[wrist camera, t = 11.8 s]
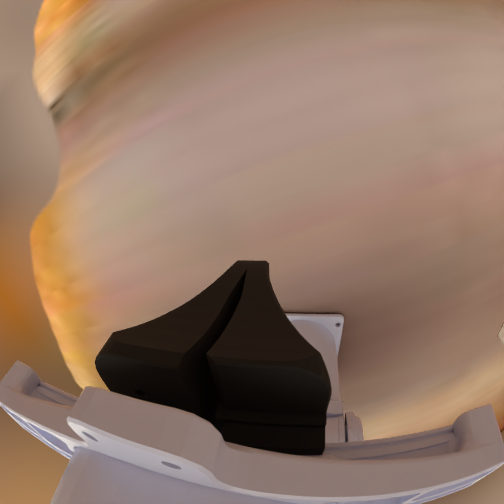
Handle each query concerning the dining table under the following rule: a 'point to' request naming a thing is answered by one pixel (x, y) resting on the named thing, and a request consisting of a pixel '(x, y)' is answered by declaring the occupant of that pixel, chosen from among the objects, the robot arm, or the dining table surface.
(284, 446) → the robot arm
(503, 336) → the serving corral
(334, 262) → the dining table surface
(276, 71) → the dining table surface
